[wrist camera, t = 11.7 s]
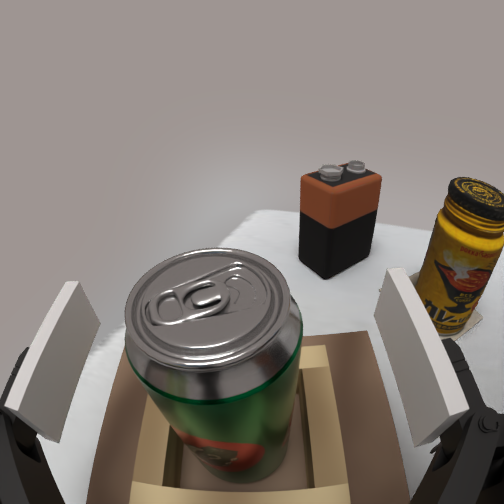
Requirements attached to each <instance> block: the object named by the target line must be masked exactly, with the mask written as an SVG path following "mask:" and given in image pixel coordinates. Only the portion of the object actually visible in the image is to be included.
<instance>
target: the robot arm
mask: <svg viewBox="0 0 504 504" xmlns="http://www.w3.org/2000/svg"><path fill="white" fill-rule="evenodd" d="M374 317H375V320H376V323H377V326H378V328H379V331H380V334H381V337H382V340H383V343H384V345H385V348H386V351H387V354H388V357H389V360H390V363H391V366H392V370H393V373H394V376H395V379H396V382H397V385H398V389H399V392H400V395H401V399H402V402H403V406H404V409H405V413H406V416H407V420H408V424H409V428H410V431H411V435H412V439H413V443H414V447H418V446H421V445H424V444H427V443H431V442H433V441H434V440H435V439H436V438H438V437H439V436H440V439H441V442H440V443H439V444H438V445H436V446H435V447H434V448H433V449H432V450H431V452H430V453H431V454H432V453H434V452H435V451H436V453H435V455H434V457H433V459H432V461H431V463H430V465H429V468H428V470H427V472H426V474H425V476H424V478H423V479H422V481H421V483H420V485H419V487H418V489H417V491H416V493H415V494H414V496H413V498H412V500H411V501H410V503H409V504H504V414H498V413H497V412H496V411H495V410H493V409H492V408H489V407H487V406H486V405H485V403H484V401H483V399H482V397H481V394H480V392H479V389H478V387H477V384H476V382H475V380H474V377H473V375H472V373H471V370H469V366H468V364H467V362H466V361H465V357H464V355H463V353H462V351H461V349H460V347H459V346H458V345H457V344H456V343H455V342H454V341H453V340H452V339H451V338H446V339H442V340H441V339H440V337H439V335H438V333H437V331H436V329H435V327H434V325H433V323H432V321H431V319H430V317H429V315H428V313H427V311H426V309H425V307H424V305H423V303H422V301H421V299H420V297H419V295H418V294H417V292H416V290H415V288H414V286H413V284H412V282H411V281H410V279H409V277H408V275H407V274H406V272H405V270H404V268H390V269H387V271H386V275H385V278H384V282H383V285H382V289H381V292H380V296H379V299H378V303H377V306H376V309H375V312H374ZM99 326H100V321H99V319H98V318H97V316H96V314H95V312H94V310H93V308H92V306H91V304H90V302H89V300H88V298H87V296H86V295H85V292H84V290H83V288H82V286H81V284H80V282H79V281H67V282H66V283H65V285H64V286H63V288H62V290H61V291H60V293H59V295H58V297H57V298H56V300H55V302H54V303H53V305H52V307H51V309H50V310H49V312H48V314H47V316H46V318H45V319H44V321H43V323H42V325H41V327H40V329H39V331H38V332H37V334H36V336H35V339H34V340H33V342H32V344H31V346H30V347H27V348H26V349H25V350H24V351H23V352H22V354H21V355H20V356H19V358H18V360H17V362H16V364H15V368H14V369H13V371H12V373H11V374H12V375H11V376H10V378H9V380H8V382H7V384H6V387H5V389H4V391H3V394H2V396H1V399H0V504H65V502H64V500H63V498H62V496H61V494H60V492H59V489H58V487H57V485H56V483H55V480H54V478H53V475H52V473H51V471H50V468H49V466H48V463H47V460H46V458H45V455H44V452H43V450H42V447H41V444H40V441H39V440H38V438H37V437H36V436H37V433H38V434H40V435H41V436H42V437H44V438H45V439H48V440H51V441H54V442H57V443H59V442H60V438H61V435H62V431H63V428H64V424H65V421H66V418H67V414H68V411H69V408H70V405H71V402H72V399H73V396H74V393H75V390H76V387H77V384H78V381H79V378H80V375H81V373H82V370H83V367H84V364H85V362H86V359H87V356H88V354H89V351H90V349H91V346H92V343H93V341H94V338H95V336H96V333H97V331H98V328H99Z"/></svg>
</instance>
